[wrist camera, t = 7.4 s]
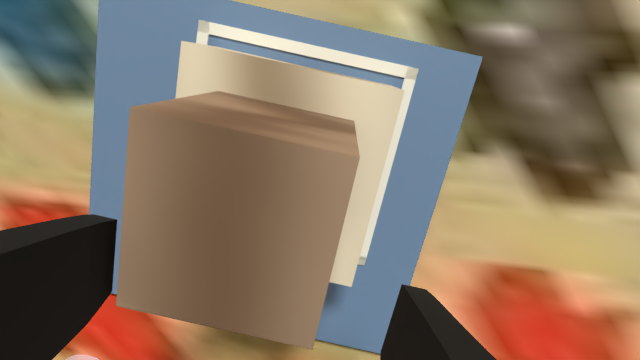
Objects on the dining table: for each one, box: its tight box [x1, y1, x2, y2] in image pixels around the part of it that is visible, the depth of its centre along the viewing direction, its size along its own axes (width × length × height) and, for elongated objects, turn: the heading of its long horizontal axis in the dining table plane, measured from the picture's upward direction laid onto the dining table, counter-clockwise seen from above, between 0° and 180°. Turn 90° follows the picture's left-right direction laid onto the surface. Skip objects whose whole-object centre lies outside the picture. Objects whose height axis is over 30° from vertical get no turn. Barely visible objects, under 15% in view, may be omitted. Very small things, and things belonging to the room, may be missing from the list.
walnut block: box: [116, 91, 360, 350], centre depth 12 cm, size 5×5×6 cm
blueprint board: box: [89, 0, 483, 354], centre depth 19 cm, size 17×16×1 cm
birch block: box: [175, 41, 404, 287], centre depth 17 cm, size 8×8×4 cm
